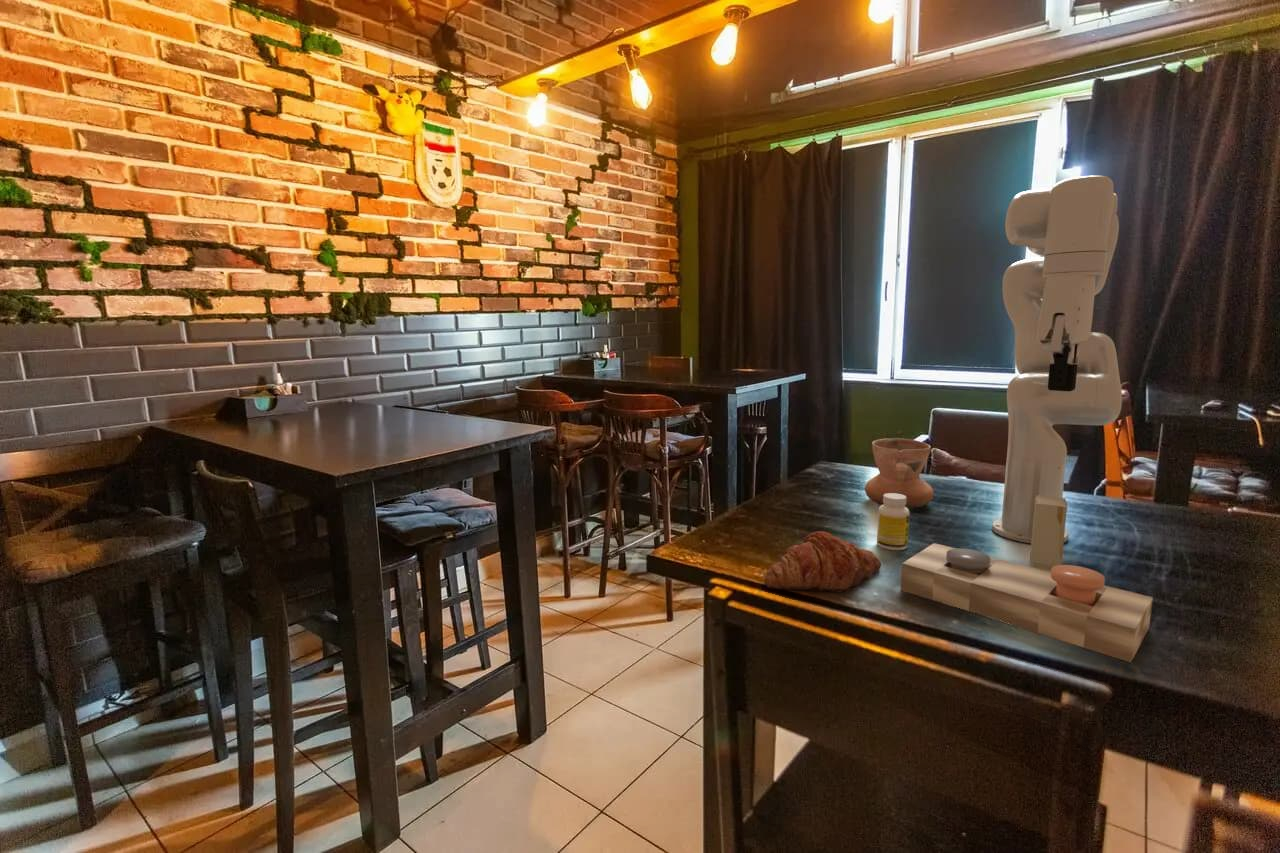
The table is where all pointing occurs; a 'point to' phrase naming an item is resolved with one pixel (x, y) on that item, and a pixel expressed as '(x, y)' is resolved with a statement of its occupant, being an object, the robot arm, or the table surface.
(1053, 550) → the skincare box
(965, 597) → the button console
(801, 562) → the pastry
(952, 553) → the grey knob
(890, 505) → the supplement bottle
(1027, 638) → the table surface
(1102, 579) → the terracotta button
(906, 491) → the ceramic jug
